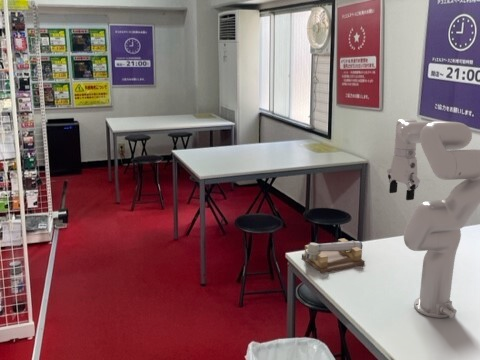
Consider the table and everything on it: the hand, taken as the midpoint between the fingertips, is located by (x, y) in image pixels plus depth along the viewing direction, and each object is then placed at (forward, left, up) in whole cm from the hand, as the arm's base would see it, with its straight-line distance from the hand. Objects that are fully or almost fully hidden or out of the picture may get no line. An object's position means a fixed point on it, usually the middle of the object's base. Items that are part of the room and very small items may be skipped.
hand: (401, 196), depth 194 cm
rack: (+16, +19, -30) cm, 39 cm away
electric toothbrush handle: (+16, +19, -28) cm, 37 cm away
